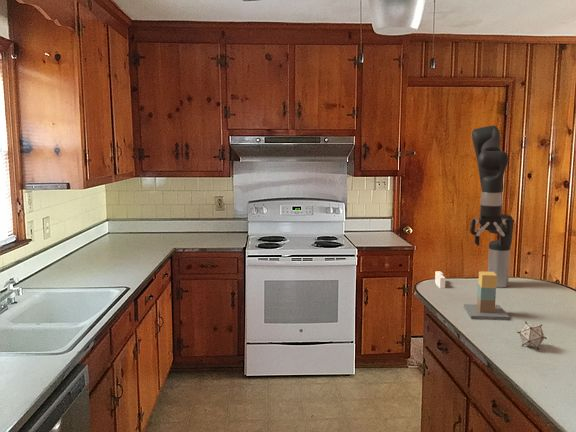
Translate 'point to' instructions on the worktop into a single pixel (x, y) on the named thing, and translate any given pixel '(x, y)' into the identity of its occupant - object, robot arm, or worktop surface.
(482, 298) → the teal block
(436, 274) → the notched block
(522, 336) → the game die
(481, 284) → the ochre block
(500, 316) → the baseplate
